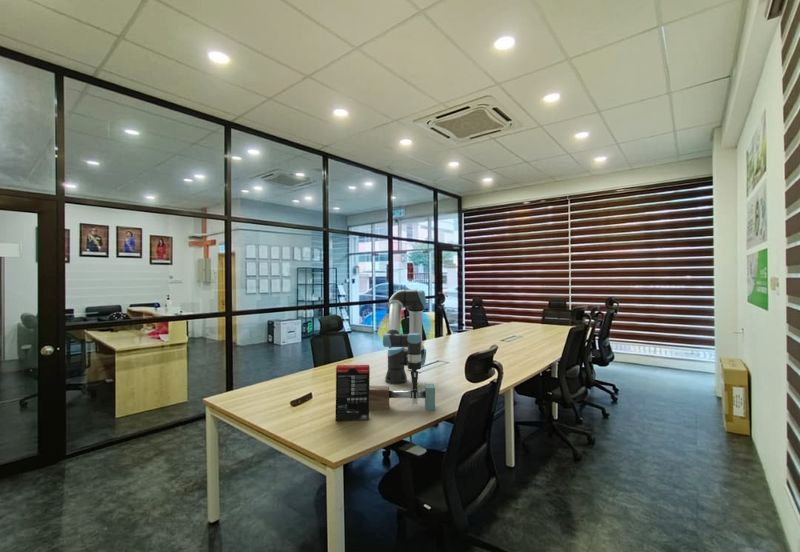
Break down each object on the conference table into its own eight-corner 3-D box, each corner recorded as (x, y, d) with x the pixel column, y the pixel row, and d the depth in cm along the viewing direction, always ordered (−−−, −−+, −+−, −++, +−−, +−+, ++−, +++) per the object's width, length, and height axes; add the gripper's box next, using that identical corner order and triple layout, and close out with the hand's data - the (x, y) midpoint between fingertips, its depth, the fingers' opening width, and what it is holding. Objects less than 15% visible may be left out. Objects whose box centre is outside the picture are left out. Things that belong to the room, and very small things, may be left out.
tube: (385, 399, 199) (385, 391, 199) (385, 396, 203) (385, 389, 203) (432, 399, 199) (432, 391, 199) (432, 396, 203) (432, 389, 203)
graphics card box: (369, 415, 190) (369, 363, 190) (369, 420, 183) (369, 366, 183) (336, 416, 188) (336, 364, 188) (335, 422, 181) (335, 367, 181)
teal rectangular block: (424, 404, 205) (424, 383, 205) (433, 404, 205) (433, 383, 205) (425, 410, 197) (425, 387, 197) (435, 410, 197) (434, 387, 197)
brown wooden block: (368, 405, 205) (368, 385, 205) (389, 405, 205) (389, 385, 205) (366, 409, 198) (366, 389, 198) (388, 409, 198) (388, 389, 198)
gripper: (407, 356, 214) (407, 392, 214) (407, 366, 189) (408, 407, 189) (420, 356, 214) (420, 392, 214) (422, 366, 189) (422, 407, 189)
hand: (414, 399), depth 201 cm, fingers open, 13 cm apart
